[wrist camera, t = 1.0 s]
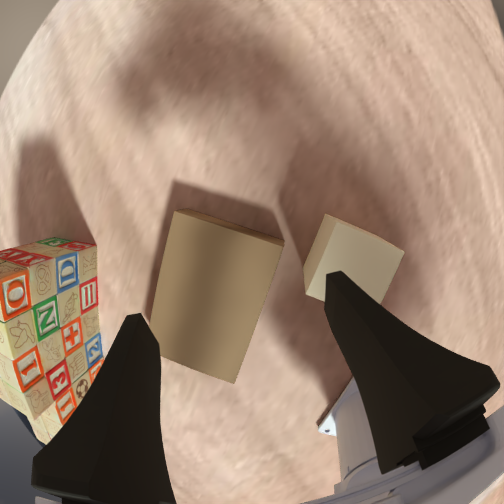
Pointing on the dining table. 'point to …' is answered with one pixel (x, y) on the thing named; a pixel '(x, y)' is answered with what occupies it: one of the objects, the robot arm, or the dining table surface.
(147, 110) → the dining table surface
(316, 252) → the cream block
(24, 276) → the stack of blocks
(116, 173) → the dining table surface
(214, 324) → the tan block
